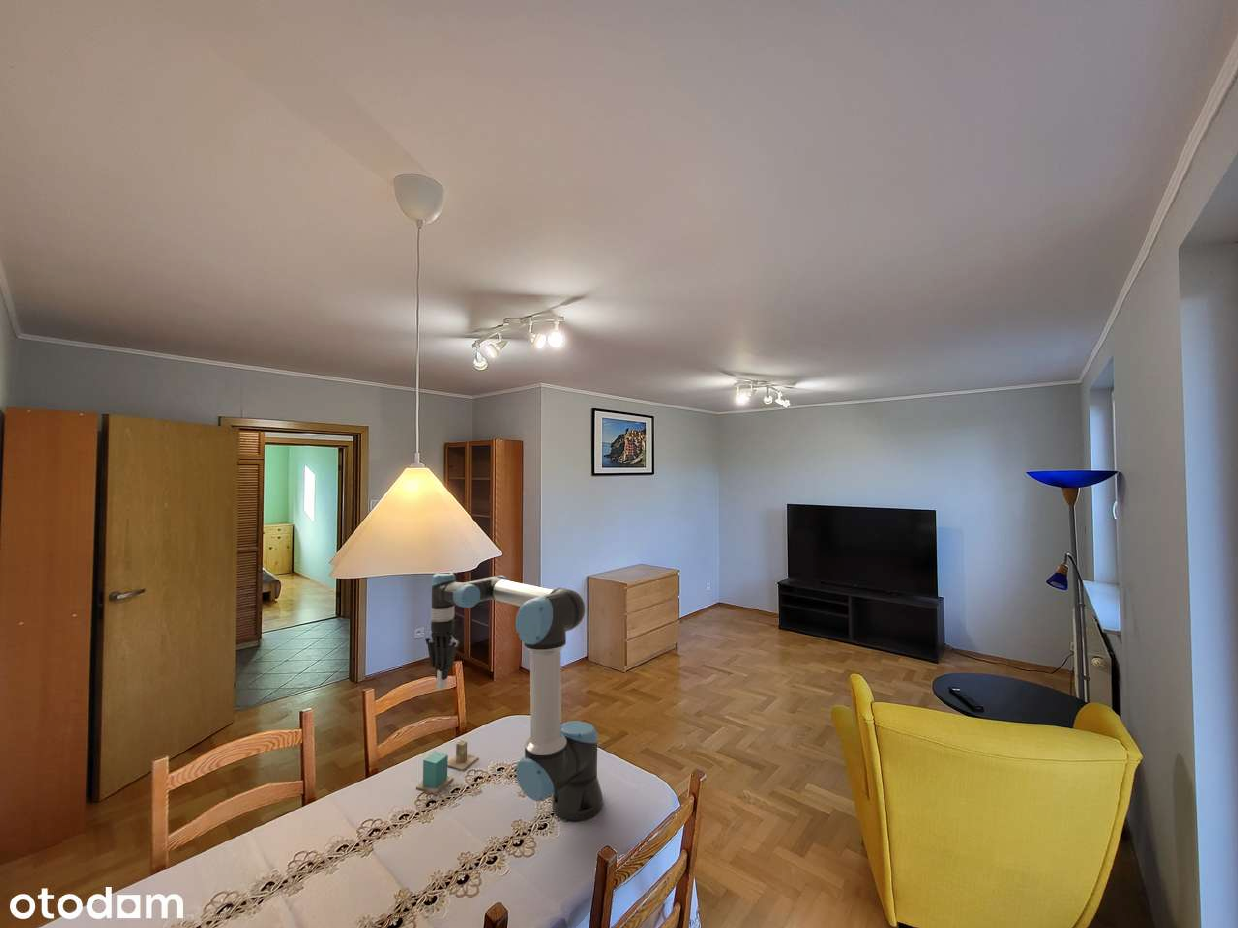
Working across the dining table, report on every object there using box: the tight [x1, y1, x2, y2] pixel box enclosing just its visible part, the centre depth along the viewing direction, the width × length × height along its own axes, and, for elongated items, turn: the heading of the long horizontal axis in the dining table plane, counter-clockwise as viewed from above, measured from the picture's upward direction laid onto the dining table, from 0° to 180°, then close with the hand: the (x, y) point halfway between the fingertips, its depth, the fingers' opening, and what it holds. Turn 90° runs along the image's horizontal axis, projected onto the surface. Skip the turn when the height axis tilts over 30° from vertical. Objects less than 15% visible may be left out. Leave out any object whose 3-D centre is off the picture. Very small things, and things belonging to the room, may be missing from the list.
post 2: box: [447, 739, 479, 772], centre depth 166 cm, size 8×8×7 cm
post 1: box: [415, 775, 454, 795], centre depth 154 cm, size 8×8×7 cm
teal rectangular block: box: [422, 751, 449, 789], centre depth 154 cm, size 5×5×8 cm
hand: (441, 688), depth 165 cm, fingers closed
